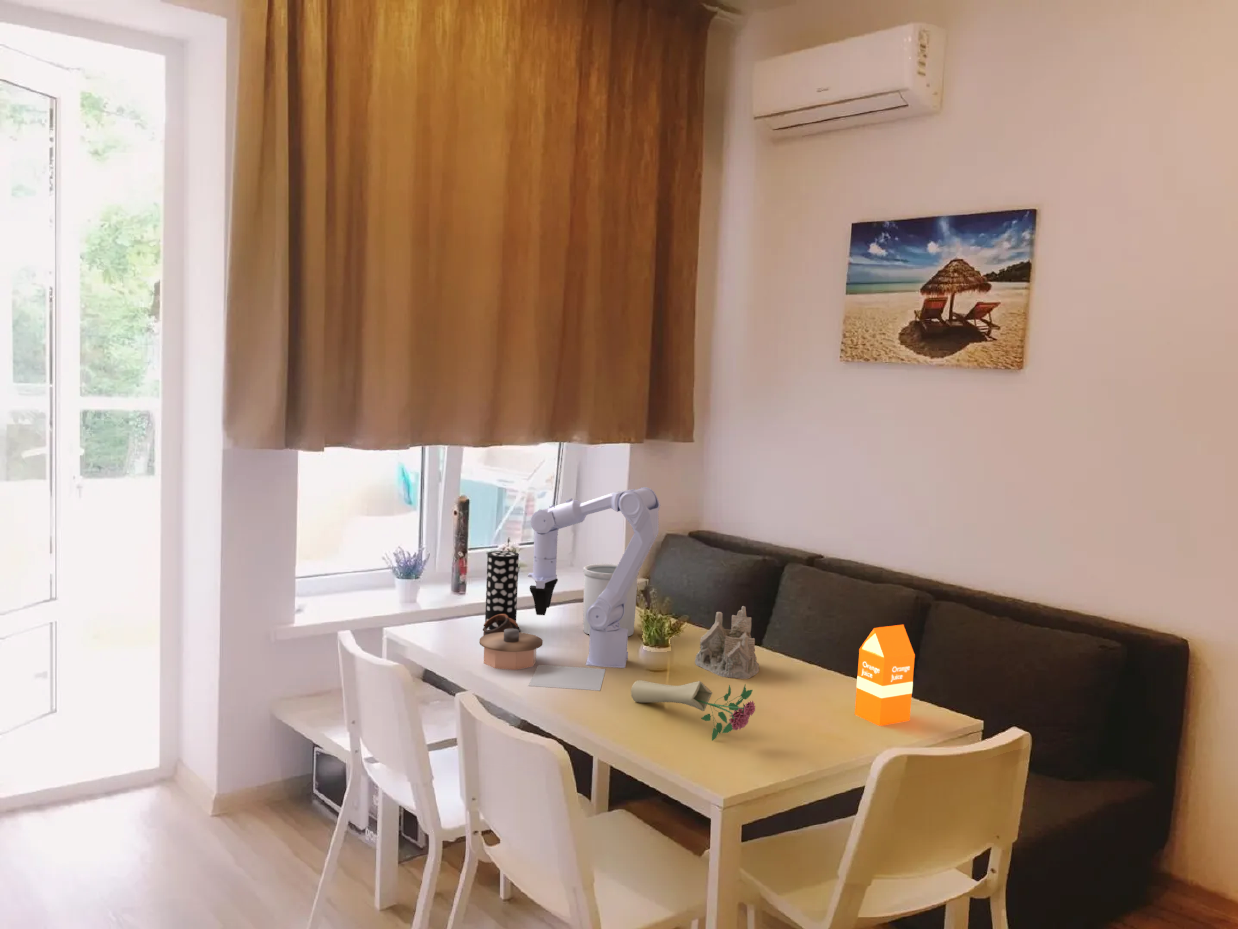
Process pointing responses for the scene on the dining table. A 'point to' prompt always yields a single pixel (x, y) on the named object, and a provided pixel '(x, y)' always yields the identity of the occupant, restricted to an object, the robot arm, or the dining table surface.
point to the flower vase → (695, 701)
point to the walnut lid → (511, 641)
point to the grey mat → (568, 677)
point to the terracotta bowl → (509, 659)
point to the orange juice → (885, 676)
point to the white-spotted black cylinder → (501, 585)
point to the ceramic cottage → (729, 648)
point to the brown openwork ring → (500, 624)
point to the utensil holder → (597, 583)
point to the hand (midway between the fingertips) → (542, 611)
